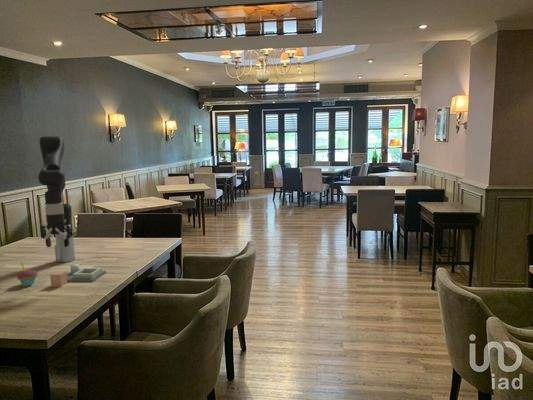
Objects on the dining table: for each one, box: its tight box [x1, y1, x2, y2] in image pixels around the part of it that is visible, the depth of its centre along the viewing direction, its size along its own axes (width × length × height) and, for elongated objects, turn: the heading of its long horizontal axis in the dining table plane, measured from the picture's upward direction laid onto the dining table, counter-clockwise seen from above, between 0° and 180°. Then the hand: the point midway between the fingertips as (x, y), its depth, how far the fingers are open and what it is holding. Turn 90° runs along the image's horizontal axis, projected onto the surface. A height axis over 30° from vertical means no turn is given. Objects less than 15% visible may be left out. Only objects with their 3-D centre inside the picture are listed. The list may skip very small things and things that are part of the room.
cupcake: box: [16, 261, 39, 287], centre depth 191 cm, size 9×8×12 cm
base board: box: [67, 263, 107, 283], centre depth 201 cm, size 18×14×5 cm
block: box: [49, 270, 68, 288], centre depth 190 cm, size 5×5×6 cm
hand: (57, 246), depth 188 cm, fingers open, 8 cm apart
